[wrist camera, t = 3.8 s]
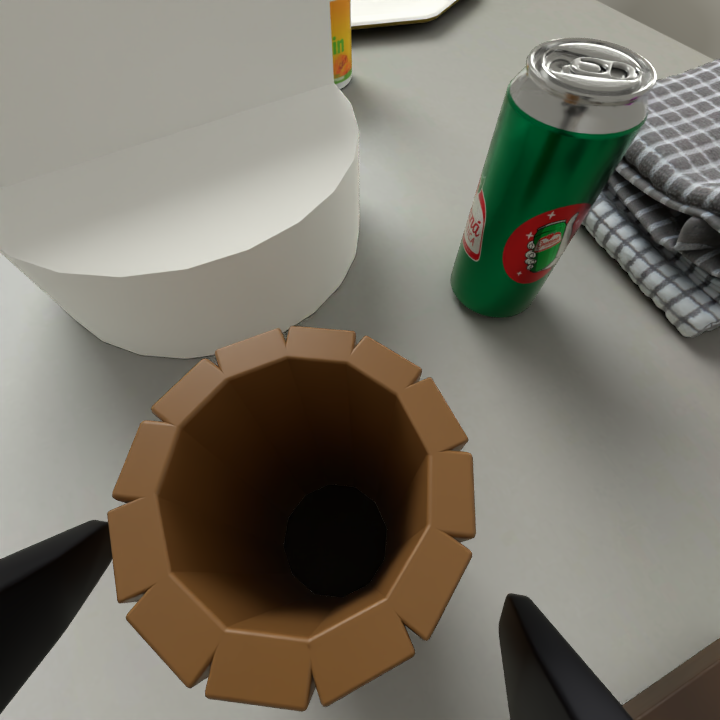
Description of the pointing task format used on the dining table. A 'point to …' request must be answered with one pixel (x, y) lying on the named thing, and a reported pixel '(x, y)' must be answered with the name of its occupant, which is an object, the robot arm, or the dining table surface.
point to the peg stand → (683, 691)
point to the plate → (395, 12)
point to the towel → (670, 201)
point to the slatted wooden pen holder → (275, 505)
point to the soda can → (547, 167)
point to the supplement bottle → (341, 41)
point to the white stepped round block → (176, 166)
